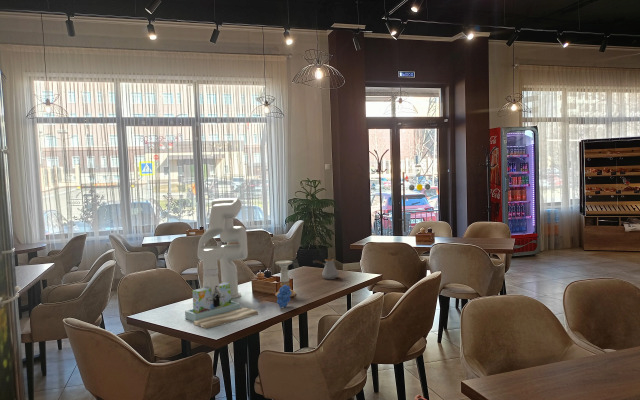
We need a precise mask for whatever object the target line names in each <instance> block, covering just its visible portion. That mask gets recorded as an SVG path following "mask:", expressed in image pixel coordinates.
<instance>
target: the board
mask: <svg viewBox="0 0 640 400" xmlns="http://www.w3.org/2000/svg"><path fill="white" fill-rule="evenodd" d="M252 315H253V316H256V315H259V311H258V310H255V309H251V308H247V307H240V309H237V310H233V311H229V312H226V313H222V314H218V315H215V316H211V317H207V318H203V319H200V320H196V321H194V322H193V325H195V326H197V325H198V327H200V326H201V328H202V327H204V328H203V329H205V328H208V329H210V328H209V327H211V328H214V326H215V327H218V326H221V325H225V324H228V323H231V322H234V321H238V319H239V320H242V319H246V318H249V317H252ZM245 317H246V318H245ZM224 323H225V324H224ZM217 325H218V326H217Z"/></svg>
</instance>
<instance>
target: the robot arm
mask: <svg viewBox="0 0 640 400" xmlns="http://www.w3.org/2000/svg"><path fill="white" fill-rule="evenodd" d="M241 209H242V201H241V199H240V198H237V197H232V198H228V197H226V198H225V197H224V198H216V199H213V200H212V201H211V208H210V213H209V214H210V215H209V223H208V229H206V231H204V232H203V234H202V235H201V236H200V238H199V240H198V244H197V258H198V259H199V261H202V272H203V275H202V288H204V287H207V288H210V295H213V297H214V307H218V306H220V295H221V291H220V286H219V284H220V280H219V279H221V283H230V290H231V300H232V299H237V298H240V297H241V295H242V293H241V292H239V285H238V284H239V283H238V282H239V281H238V269H237V268H238V267H237V265H236V264H235V261H242V260H243V261H244V260H246V259H247V258H248V255H249V254H248V252H249V251H248V236H247V231H246V230H247V229H246V227H244V226H242V225H235V224H234V219H235V218H236V217H237V216H238V214H239V213H240V211H241ZM234 225H235V226H234ZM217 236H219V239H220V241H221V242H222V243H231V244H222V245H215V246H214V245H213V246H212V245H211V246H210V245H209V246H206V244H207V243H208V242H209V241H210V240H211V239H213V238H215V237H217ZM232 243H233V244H232ZM234 243H237V244H234ZM218 261H219V264H220V276H221V278H219V267H218ZM215 295H216V296H215Z"/></svg>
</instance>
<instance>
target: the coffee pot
mask: <svg viewBox="0 0 640 400" xmlns="http://www.w3.org/2000/svg"><path fill="white" fill-rule="evenodd" d="M324 261H325V263H324V262H322V261H320V260H316V259H315V260H313V262H314V263H318V264H321V265H324V268H323V270H322V273H321V276H322V277H323V278H324V279H325V280H334V279H337V277H338V276H339V272H338V269H337V267H336V266H335V263H334V261H335V259H333V258H326V259H324Z"/></svg>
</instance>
